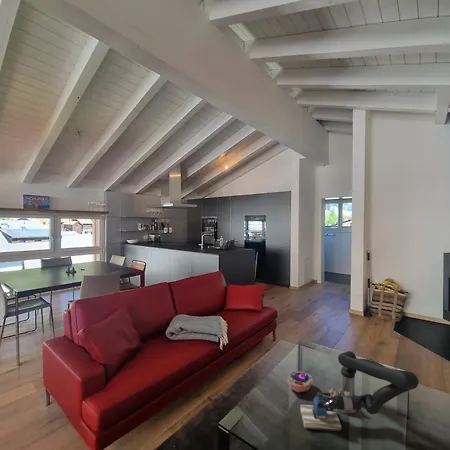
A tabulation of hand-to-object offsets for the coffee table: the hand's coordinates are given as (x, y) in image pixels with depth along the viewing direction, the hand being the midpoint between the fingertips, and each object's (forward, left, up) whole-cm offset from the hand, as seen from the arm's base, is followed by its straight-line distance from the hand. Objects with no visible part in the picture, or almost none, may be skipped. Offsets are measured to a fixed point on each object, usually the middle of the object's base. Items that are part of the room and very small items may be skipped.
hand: (316, 401), depth 170 cm
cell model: (-29, -6, -13) cm, 33 cm away
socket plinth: (0, +2, -13) cm, 13 cm away
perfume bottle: (0, +2, -7) cm, 8 cm away
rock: (-15, +21, -13) cm, 29 cm away
